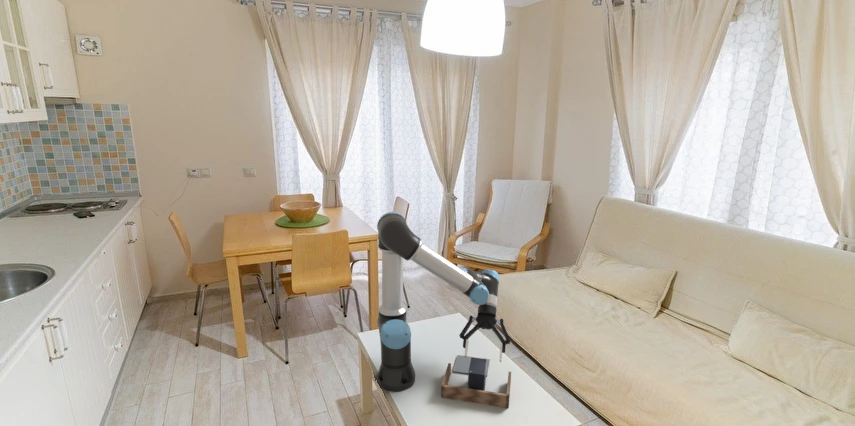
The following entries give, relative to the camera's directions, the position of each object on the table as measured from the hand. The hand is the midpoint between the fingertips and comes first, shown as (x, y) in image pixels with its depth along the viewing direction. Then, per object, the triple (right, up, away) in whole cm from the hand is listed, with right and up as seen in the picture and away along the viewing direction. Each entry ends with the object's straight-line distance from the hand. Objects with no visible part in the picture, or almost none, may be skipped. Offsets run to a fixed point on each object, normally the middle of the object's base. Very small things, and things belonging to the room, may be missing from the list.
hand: (482, 359), depth 169 cm
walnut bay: (-3, -11, -2) cm, 11 cm away
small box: (-3, -11, -2) cm, 12 cm away
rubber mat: (-3, -7, +12) cm, 14 cm away
